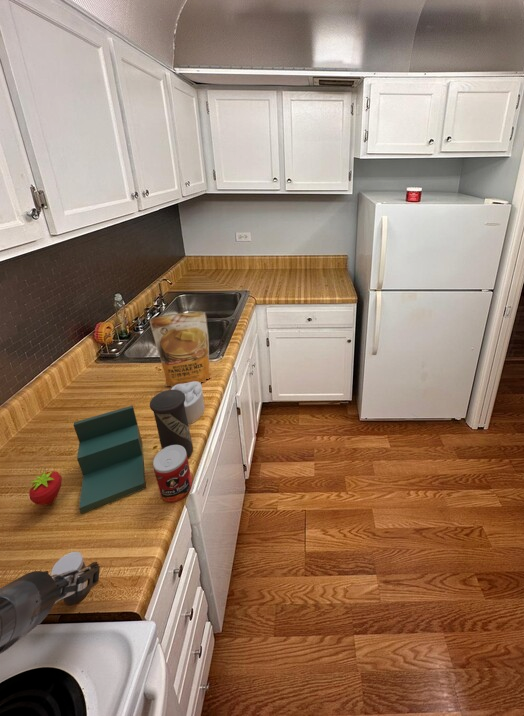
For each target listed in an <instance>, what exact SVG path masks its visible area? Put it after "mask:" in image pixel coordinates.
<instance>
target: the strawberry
mask: <svg viewBox="0 0 524 716" xmlns="http://www.w3.org/2000/svg"><path fill="white" fill-rule="evenodd" d="M35 478H36V479H35V480H32V481H30V482H29V484H32V485H31V486H30V487H29V491H28V497H29V500H30V501H31V502H32V503H34V504H35V505H37V506H48V505H49V506H50V505H52V504H53V503H54V502H55V500H56V499H57V497H58V495H59V493H60V490H61V488H62V481H63V480H62V479H63V477H62V475H61V474H60V473H59V472H58V471H55V470H52V471H47V472H46V470H44V472H43V473H42V474H41V475H36V476H35Z"/></svg>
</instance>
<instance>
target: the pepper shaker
mask: <svg viewBox="0 0 524 716" xmlns="http://www.w3.org/2000/svg"><path fill="white" fill-rule="evenodd" d="M85 567H87V566H86V565H85V562H84V557H83V554H82V553H81V552H79V551H71V552H68V553H66V554H65V555H63V556H62V557H60V558H59V559H58V560H57V561H56V562H55V563H54V565H53V567H52V569H51V572H50V576H52V575H55V574H58V575H59V574H62V573H65V572H67V571H70V570H73V569H74V570H78V571H79V570H81V569H84V568H85ZM81 575H82V574H81ZM81 575H79V576H81ZM69 578H70V576H68V577H65V579H66V580H67V581H68V582H69ZM90 591H91V589H90V590H88V591H87V592H86V593H85V594H83V595H82V596H80V597H74V596H75V593H74V594H72V595H70V596H68V597H65V598H63V599H62V600H63V602H64V604H65V605H68V606H73V605H76V604H78V603H80V602H81V601H83V600H84V598H86V597H87V596H88V594H89V593H90Z"/></svg>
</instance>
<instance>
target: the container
mask: <svg viewBox="0 0 524 716" xmlns="http://www.w3.org/2000/svg"><path fill="white" fill-rule="evenodd" d="M184 402H185V394H184V393H183V392H182V391H180V390H171V389H166V390H163V391H160V392H158V393H156V394H155V395H154V396H153V397H151V399H150V402H149V409H150V410H151V411H152V412H153V416H154V420H155V425H156V429H157V434H158V438H159V443H160V444H159V445H160V448H161V450H162V449H164V448H165V447H168V446H171V445H180V446H183V447H184V448H185V450H186V453H187V458H188V459H189V458H190V457H191V456H192V454H193V452H194V446H193V445H194V444H193V440H192V436H191V435H192V434H191V431H190V424H189V425H188V420H187V416H186V411H185V406H184Z"/></svg>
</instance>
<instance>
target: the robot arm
mask: <svg viewBox="0 0 524 716" xmlns="http://www.w3.org/2000/svg"><path fill="white" fill-rule="evenodd" d="M99 564H100V563H98V561H93V562H91V563H89V565H87V566H86V567H85V568H84V569H81V570H79V571H78V570H74V569H73V570H70V571H67V572H65V573H62V574H59V575H58V574H55V575H52V576H51V574H49V571H48V570H44V571H42V570H34V571H29V572H28V573H25V574H23V575H22V576H19V577H18V578H16V579H15V580H13V581H11V582H9V583H7V584H5V585H4V586H1V587H0V655H1V654H3V653H4V652H6V651H8V650H9V649H10V648H11V647H13V646H14V645H15V644H16V643H18V642H19V641H20V640H21V639H22V638H24V637H25V636H26V635H27V634H29V633H30V632H31V631H32V630H34V629H35V628H36V627H37V626H39V625H40V624H41V623H42V622H44V620H45V619H46V618H47V616H48V615H49V614H50V612H51V610H52V609H53V607H54V605H55V604H57V603H58V602H59V601H61V600H63V598H65V597H68V596H70V595H72V594H74V593H75V596H74V597H80V596H82V595H83V594H85V593H86V592H87V591H88V590H90V591H91V589H92V588H94V587H95V586H96V585H98V584H99V582H100V580H99V579H100V571H101V565H99ZM81 574H82V575H81ZM79 575H81V576H79ZM68 576H70V578H69V582H68V581H67V580H66V579H65V577H68Z"/></svg>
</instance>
